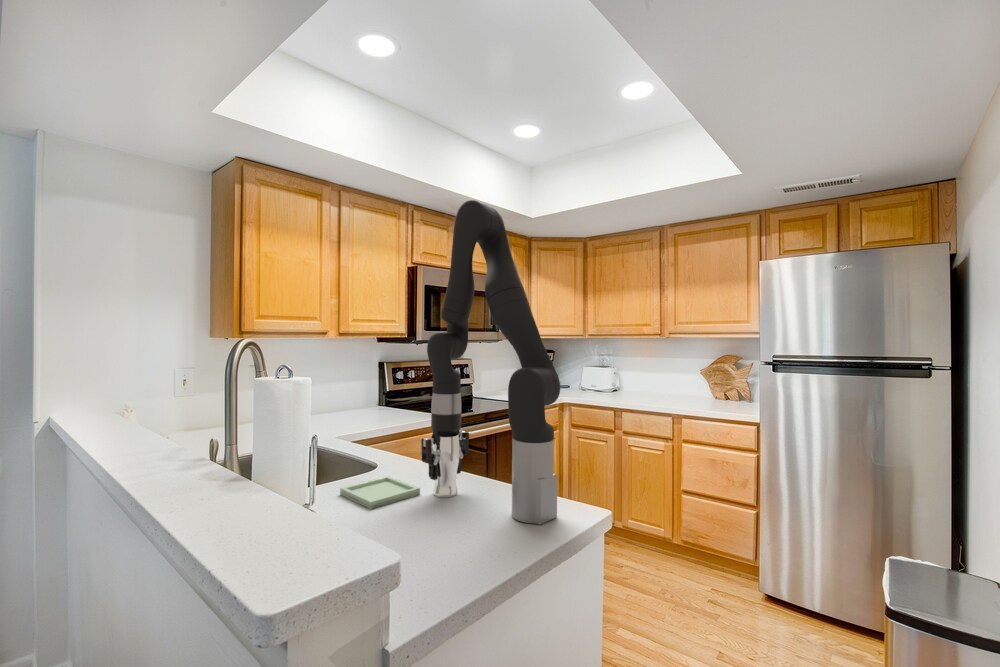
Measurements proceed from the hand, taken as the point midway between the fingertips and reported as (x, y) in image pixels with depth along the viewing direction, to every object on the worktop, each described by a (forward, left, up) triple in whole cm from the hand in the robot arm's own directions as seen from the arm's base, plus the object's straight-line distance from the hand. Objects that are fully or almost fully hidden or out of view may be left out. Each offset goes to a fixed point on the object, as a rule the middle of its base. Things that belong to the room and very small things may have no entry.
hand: (445, 475), depth 120 cm
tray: (+11, +12, -4) cm, 17 cm away
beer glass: (0, 0, -5) cm, 5 cm away
